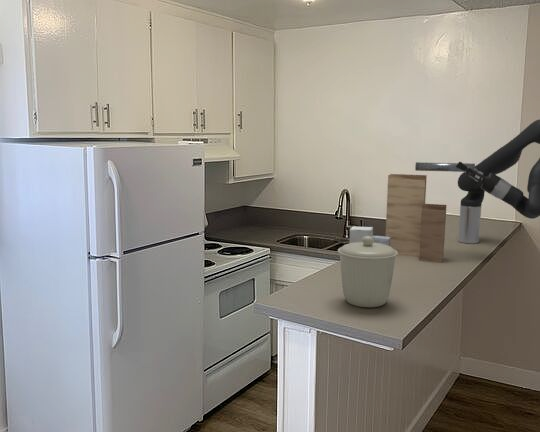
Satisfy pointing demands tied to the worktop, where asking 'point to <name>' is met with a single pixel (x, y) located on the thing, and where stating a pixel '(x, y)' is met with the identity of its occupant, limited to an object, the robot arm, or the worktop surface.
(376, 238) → the medicine box
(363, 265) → the canister
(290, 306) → the worktop surface
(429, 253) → the tall wooden post
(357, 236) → the skincare box
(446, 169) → the pin
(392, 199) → the stand
